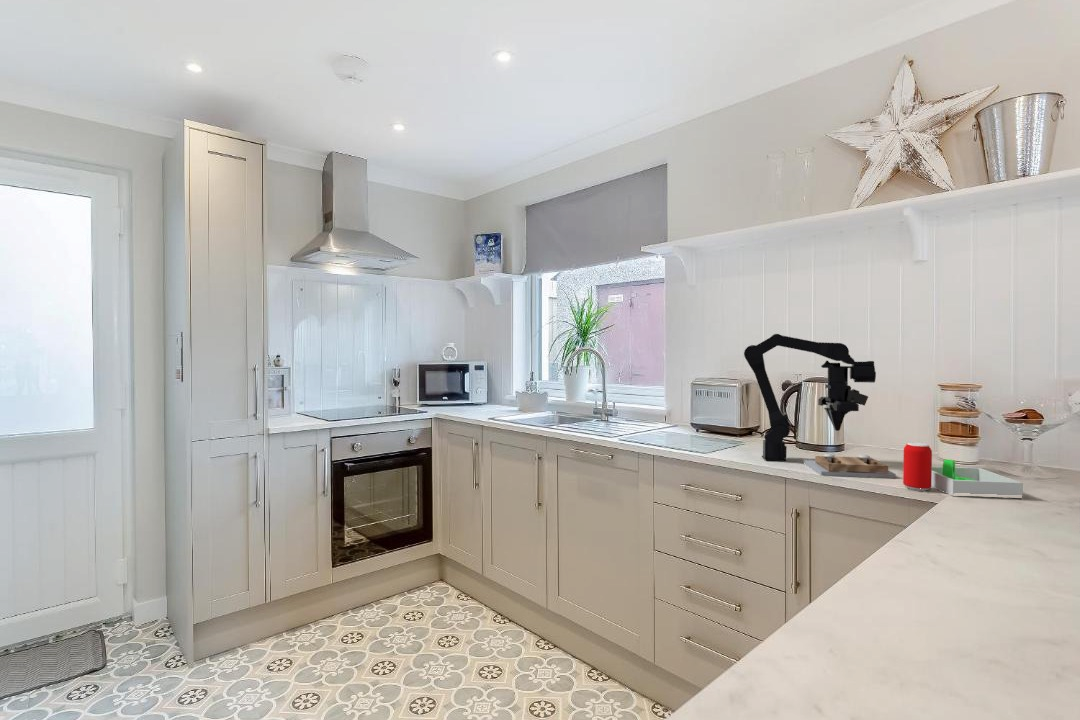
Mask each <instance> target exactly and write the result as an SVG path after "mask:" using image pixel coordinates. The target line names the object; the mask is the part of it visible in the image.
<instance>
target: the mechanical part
mask: <svg viewBox="0 0 1080 720" xmlns="http://www.w3.org/2000/svg"><path fill="white" fill-rule="evenodd" d="M942 467H943V475H944V476H947V477H949V478H951V479H954V480H972V481H975V480H973V479H969V478H963V477H956V476H955V467H956V460H954V459H946V458H944V460H943V464H942Z"/></svg>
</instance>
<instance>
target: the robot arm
mask: <svg viewBox="0 0 1080 720" xmlns="http://www.w3.org/2000/svg"><path fill="white" fill-rule="evenodd" d="M776 347H783V348H788V349H793V350H798V351H802V352H803V351H805V352H808V353H812V354H813V353H814V354H816V355H819V356H822V357H824V358H827V359H829V360H832V361H835V362H830V361H829V360H825V361H824V363H823V364H821V365H820V367H821V368H823V369H824V368H825V369H827V384H825V388H826V389H827V396H820V398H818V400H817V402H818V406H821V407H822V406H826V407H824V410H825V412H826V414H827V416H828V417H829V420H830V422H831V425H832V426H833V429H834V431H835V432H836V431H840V430H841V427H842V424H843V421H844V418H845V416H846V415H847V414H848V413H850V412H859V411H860V410H859V405H860V406H861V405H862V406H866V404H867V402H868V400H869V396H868V395H866V394H862V393H860V391H859V390H857V389H855V388H852V386H851V385H848V383H849V379H850V380H853V383H870V384H871V383H875V382H876V379H877V377H876V376H877V372H876V367H875V361H874V360H867V361H855V359H854V358H853V357H852V356H851V355H850V354H849V353H850V351H849V348H848V346H847V345H846V344H844V343H840V342H820V341H819V342H818V341H814V340H813V341H812V340H807V339H802V338H797V337H791V336H787V335H782V334H780V333H773V334H772V335H771V336H770V337H769V338H767V339H765V340H763V341H761V342H759V343H758V344H756V345H755V344H754V345H753V344H751V345H748V346H747V347H745V349H744V352H743V356H744V358H745V360H746V361H747V363H748V366H749V367H750V368H751V371H752V372H753V373H754V376H755V379H756V382H757V384H758V386H759V389H760V393H761V395H762V399H763V401H764V404H765V407H766V409H767V412H768V417H769V425H770V426H769V427H770V428H769V429H767V430H766V431H765V432H764V437H763V438H764V439H763V440H762V455H761V458H762V459H763V460H765V461H767V462H768V461H771V462H772V461H773V462H787V449H788V448H787V446H786V441H784V439H785V438H787V437H788V436H789V435H790V432H791V428H790V427H792V422H790V420H789V418H788V413H787V412H784V413H783V412H782V410H781V409H780V407H779V403H778V400H777V399H776V395H775V392H774V390H773V387H772V385H771V381H770V379H769V376H768V373H767V371H766V367H765V366H766V365H765V358H764V355H765V354H766V353H768V352H770V351H771V350H772V349H774V348H776ZM841 362H842V363H844V364H845V365H841ZM846 364H847V365H846ZM848 365H849V366H848ZM848 376H849V377H848Z"/></svg>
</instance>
